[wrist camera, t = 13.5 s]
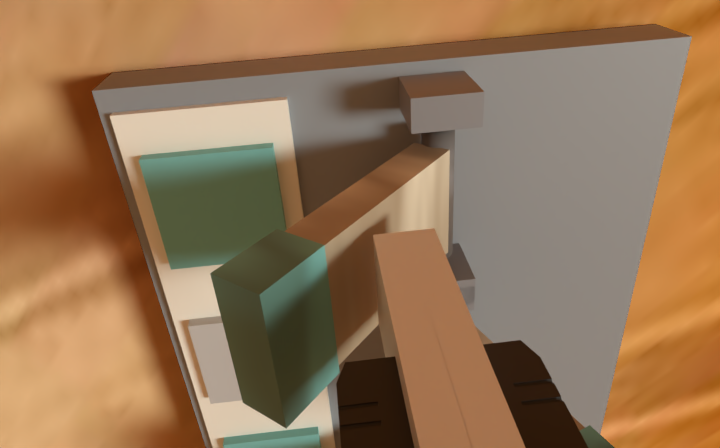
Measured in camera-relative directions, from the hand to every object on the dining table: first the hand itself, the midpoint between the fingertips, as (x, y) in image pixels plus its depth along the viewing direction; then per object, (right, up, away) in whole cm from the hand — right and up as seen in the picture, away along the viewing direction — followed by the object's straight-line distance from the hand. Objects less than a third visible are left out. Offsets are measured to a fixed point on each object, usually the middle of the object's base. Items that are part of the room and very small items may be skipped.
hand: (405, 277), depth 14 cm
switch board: (+1, -2, +10) cm, 10 cm away
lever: (+1, +2, +4) cm, 5 cm away
